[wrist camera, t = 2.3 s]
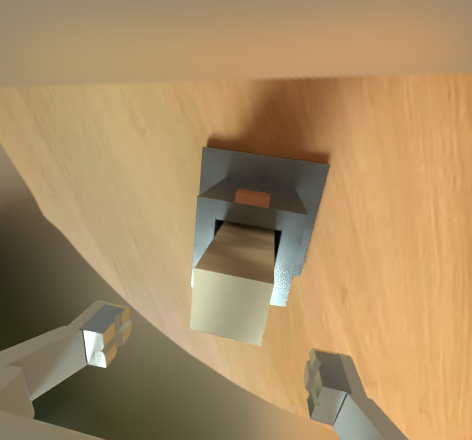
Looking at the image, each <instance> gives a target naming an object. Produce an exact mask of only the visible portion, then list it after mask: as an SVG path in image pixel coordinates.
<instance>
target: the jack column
mask: <svg viewBox="0 0 472 440" xmlns="http://www.w3.org/2000/svg"><path fill="white" fill-rule="evenodd" d="M273 289H274V229H269V228H263V227H258V226H252V225H246V224H241V223H235V222H229V221H224V223H223V224H222V226H221V227H220V229H219V231H218V232H217V234H216V235H215V237H214V238H213V240H212V241H211V243H210V244H209V246H208V248H207V249H206V251H205V252H204V254H203V255H202V257H201V258H200V260H199V261H198V263H197V264H196V266H195V268H194V279H193V292H192V306H191V320H190V329H191V330H195V331H199V332H203V333H208V334H212V335H216V336H220V337H224V338H229V339H233V340H237V341H241V342H245V343H250V344H254V345H258V346H261V342H262V338H263V333H264V329H265V324H266V320H267V315H268V311H269V306H270V302H271V297H272V293H273Z"/></svg>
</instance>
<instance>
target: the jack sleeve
mask: <svg viewBox="0 0 472 440" xmlns="http://www.w3.org/2000/svg"><path fill="white" fill-rule="evenodd" d="M329 167H330V165H329V164H325V163H318V162H311V161H304V160H296V159H289V158H282V157H275V156H268V155H261V154H254V153H247V152H240V151H233V150H226V149H219V148H212V147H203V151H202V165H201V179H200V192H199V196H197V211H196V225H195V240H194V254H193V268H192V283H191V287H193V279H194V268H195V266H196V264H197V263H198V261H199V260H200V258H201V257H202V255H203V254H204V252H205V251H206V249H207V248H208V246H209V244H210V243H211V241H212V240H213V238H214V237H215V235H216V234H217V232H218V231H219V229H220V227H221V226H222V224H223V223H224V221H229V222H235V223H241V224H246V225H252V226H258V227H263V228H269V229H274V289H273V293H272V297H271V302H270V304H273V305H277V306H282V307H285V305H286V302H287V298H288V294H289V290H290V286H291V282H292V278H293V275H295V276H300V275H301V272H302V268H303V264H304V260H305V257H306V253H307V249H308V245H309V242H310V238H311V234H312V230H313V227H314V223H315V219H316V215H317V212H318V208H319V204H320V200H321V197H322V193H323V189H324V185H325V182H326V178H327V174H328V170H329Z"/></svg>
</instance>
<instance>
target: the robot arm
mask: <svg viewBox="0 0 472 440" xmlns="http://www.w3.org/2000/svg"><path fill="white" fill-rule="evenodd" d="M130 315H131V309H130V308H129V307H125V306H121V305H117V304H113V303H108V302H104V301H100V300H99V301H96V302H94V303H93V304H92V305H91V306H90V307H89V308H88V309H86V310H85V311H84V312H83V313H82V314H81V315H80V316H78V317H77V318H76V319H75V320H74V321H73V322H72V323H70V324H69V325H68V326H67V327H66V326H62V327H60V328H58V329H55V330H52V331H50V332H48V333H45V334H43V335H40V336H38V337H35V338H33V339H30V340H28V341H25V342H23V343H21V344H18V345H15V346H13V347H11V348H8V349H6V350H3V351H1V352H0V440H104V439H101V438H97V437H94V436H90V435H87V434H83V433H79V432H76V431H72V430H69V429H66V428H62V427H59V426H55V425H52V424H48V423H45V422H41V421H37V420H35V419H32V418H33V417H34V409H33V406H32V402H31V401H32V400H34V399H36V398H37V397H38V396H40V395H42V394H43V393H44V392H46V391H48V390H49V389H51V388H52V387H54V386H55V385H57V384H58V383H60V382H61V381H63V380H64V379H66V378H68V377H69V376H70V375H72V374H74V373H75V372H76V371H78V370H80V369H81V368H83V367H84V366H86V365H87V364H91V365H96V366H100V367H104V368H106V367H107V366H108V365H109V363H110V362H111V361H112V359H113V358H114V357H115V355H116V354H117V348H118V347H120V346H122V345H123V344H124V343H125V342H126V340H127V338H128V337H129V334H130V332H131V328H132V322H131V321H130V319H129V317H130ZM309 356H310V360H309V361H308V362H307V363H306V366H305V373H304V380H305V388H306V390H307V391H308V392H309V396H308V399H307V402H308V409H309V415H310V420H314V421H317V422H321V423H324V424H328V425H331V426H333V428H334V430H335V432H336V433H337V435H338V437H339V438H340V440H408V438H407V437H406V436H405V435H404V434H403V433H402V432H401V431H400V430H399V429H398V427H397V426H396V425H395V424H394V423H393V422H392V421H391V420H390V419H389V418H388V416H387V415H386V414H385V413H384V412H383V411H382V410H381V409H380V408H379V407H378V406H377V404H376V403H375V402H374V401H373V400H372V399H370V398H367V396H366V393H365V390H364V388H363V385H362V383H361V380H360V378H359V375H358V373H357V370H356V367H355V365H354V362H353V360H352V358H351V357H350V356H349V355H344V354H339V353H335V352H330V351H325V350H320V349H316V348H312V349H311V351H310V354H309Z"/></svg>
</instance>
